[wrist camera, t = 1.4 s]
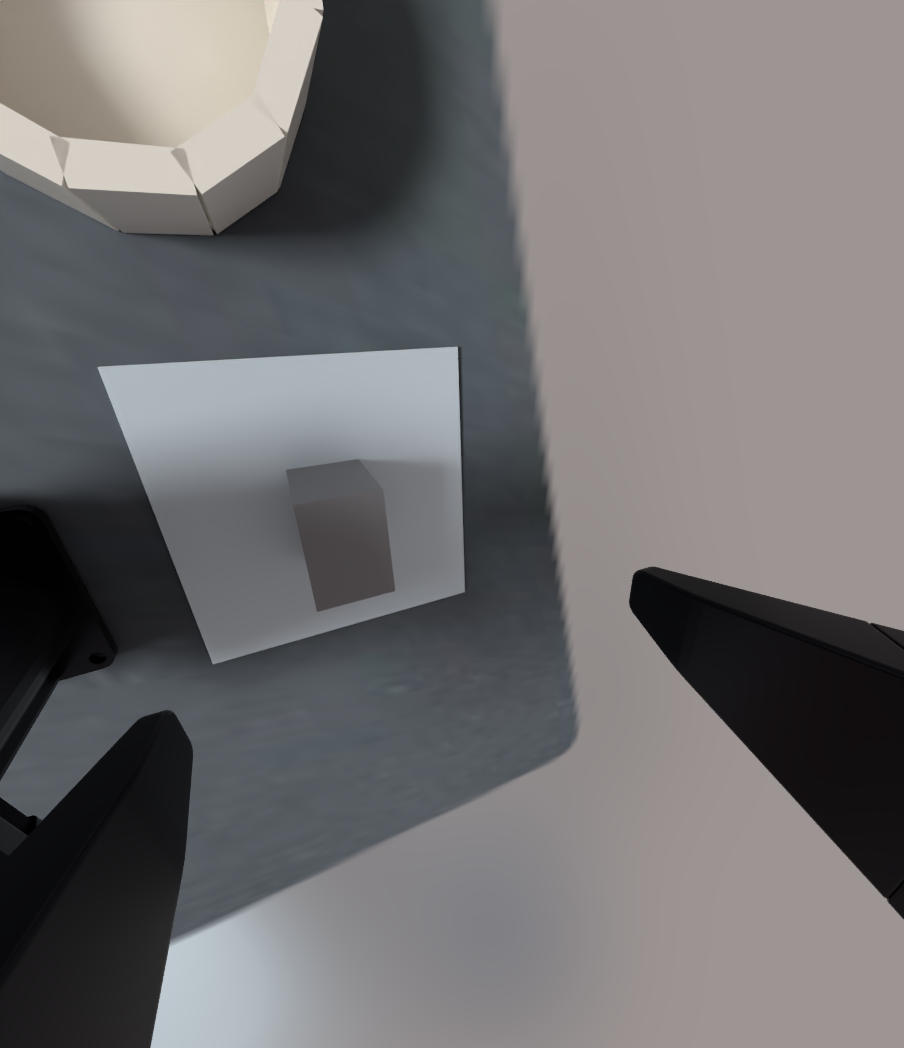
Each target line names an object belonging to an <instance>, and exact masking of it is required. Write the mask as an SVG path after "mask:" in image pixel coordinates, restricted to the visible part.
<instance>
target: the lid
mask: <svg viewBox="0 0 904 1048" xmlns="http://www.w3.org/2000/svg"><path fill="white" fill-rule="evenodd" d="M98 370H99V372H100V375H101V377H102V380H103V382H104V385H105V388H106V390H107V393H108V395H109V398H110V400H111V403H112V406H113V408H114V411H115V413H116V416H117V419H118V421H119V424H120V426H121V429H122V431H123V434H124V437H125V439H126V442H127V444H128V447H129V449H130V452H131V455H132V457H133V460H134V462H135V465H136V467H137V470H138V473H139V475H140V478H141V480H142V483H143V486H144V488H145V491H146V493H147V496H148V498H149V501H150V504H151V506H152V509H153V511H154V514H155V516H156V519H157V522H158V524H159V527H160V529H161V532H162V535H163V537H164V540H165V542H166V545H167V547H168V550H169V553H170V555H171V558H172V560H173V563H174V565H175V568H176V571H177V573H178V576H179V578H180V581H181V584H182V586H183V589H184V591H185V594H186V596H187V599H188V602H189V604H190V607H191V609H192V612H193V614H194V617H195V620H196V622H197V625H198V627H199V630H200V632H201V635H202V638H203V640H204V643H205V645H206V648H207V651H208V653H209V656H210V658H211V661H212V663H213V664H216V663H220V662H223V661H227V660H230V659H234V658H237V657H241V656H244V655H248V654H251V653H255V652H258V651H262V650H265V649H269V648H272V647H275V646H279V645H282V644H286V643H289V642H293V641H296V640H300V639H303V638H307V637H310V636H314V635H317V634H321V633H324V632H328V631H331V630H335V629H338V628H342V627H345V626H349V625H352V624H356V623H359V622H363V621H366V620H370V619H373V618H377V617H380V616H383V615H387V614H390V613H394V612H397V611H401V610H404V609H408V608H411V607H415V606H418V605H422V604H425V603H429V602H432V601H436V600H439V599H443V598H446V597H450V596H453V595H457V594H460V593H464V592H465V577H464V543H463V509H462V475H461V441H460V407H459V373H458V347H441V348H423V349H405V350H388V351H370V352H352V353H334V354H317V355H299V356H281V357H263V358H245V359H228V360H210V361H192V362H174V363H156V364H139V365H121V366H103V367H98Z"/></svg>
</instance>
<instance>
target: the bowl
mask: <svg viewBox="0 0 904 1048" xmlns="http://www.w3.org/2000/svg"><path fill="white" fill-rule="evenodd" d="M322 15H323V3H322V0H0V170H1V171H3V172H4V173H6V174H7V175H9V176H11V177H13V178H15V179H17V180H19V181H21V182H23V183H25V184H27V185H29V186H31V187H33V188H35V189H36V190H38V191H40V192H42V193H44V194H46V195H48V196H50V197H52V198H54V199H56V200H58V201H60V202H62V203H64V204H66V205H68V206H70V207H72V208H74V209H75V210H77V211H79V212H81V213H83V214H85V215H87V216H89V217H91V218H93V219H95V220H97V221H99V222H101V223H103V224H105V225H107V226H109V227H111V228H113V229H114V230H116V231H118V232H119V230H120V231H122V232H123V233H144V234H180V235H213V231H212V229H213V230H214V231H215V232H216V234H218V233H220V232H221V231H223V230H224V229H225V228H227V227H228V226H230V225H231V224H233V223H234V222H235V221H237V220H238V219H240V218H241V217H242V216H244V215H245V214H247V213H248V212H249V211H251V210H252V209H254V208H255V207H257V206H258V205H259V204H261V203H262V202H264V201H265V200H266V199H268V198H269V197H271V196H272V195H273V194H275V193H276V192H278V188H279V189H280V186H281V183H282V179H283V176H284V173H285V170H286V167H287V163H288V160H289V157H290V154H291V151H292V147H293V144H294V141H295V138H296V134H297V131H298V128H299V125H300V122H301V118H302V115H303V112H304V109H305V105H306V100H307V95H308V90H309V85H310V80H311V75H312V70H313V65H314V60H315V55H316V50H317V45H318V40H319V35H320V30H321V25H322V20H323V16H322Z"/></svg>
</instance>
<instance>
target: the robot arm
mask: <svg viewBox="0 0 904 1048" xmlns="http://www.w3.org/2000/svg"><path fill="white" fill-rule="evenodd" d="M17 517H25V518H28V519H30V520H31V521H32V522H33V527H26V526H23V525H21V524H20V523H19V522H18V519H17ZM629 604H630V608H631V610H632V612H633V613H634V615H635V616H636V617H637V619H638V620H639V621H640V623H641V624H642V625H643V626H644V628H645V629H646V630H647V632H648V633H649V634H650V636H651V637H652V638H653V640H654V641H655V642H656V644H657V645H658V646H659V648H660V649H661V650H662V651H663V653H664V654H665V655H666V657H667V658H668V659H669V660H670V662H671V663H672V664H673V666H674V667H675V668H676V669H677V671H679V673H680V674H681V675H682V676H683V677H684V678H685V680H686V681H687V682H688V683H689V684H690V685H691V686H692V687H693V688H694V690H695V691H696V692H697V693H698V694H699V695H700V696H701V697H702V698H703V699H704V700H705V701H706V703H707V704H708V705H709V706H710V707H711V708H712V709H713V710H714V711H715V713H716V714H717V715H718V716H719V717H720V718H721V719H722V720H723V721H724V722H725V723H726V725H727V726H728V727H729V728H730V729H731V730H732V731H733V732H734V733H735V734H736V735H737V737H738V738H739V739H740V740H741V741H742V742H743V743H744V744H745V745H746V747H747V748H748V749H749V750H750V751H751V752H752V753H753V754H754V755H755V756H756V757H757V758H758V760H759V761H760V762H761V763H762V764H763V765H764V766H765V767H766V768H767V770H768V771H769V772H770V773H771V774H772V775H773V776H774V777H775V778H776V779H777V780H778V782H779V783H780V784H781V785H782V786H783V787H784V788H785V789H786V790H787V791H788V793H790V795H791V796H792V797H793V798H794V799H795V800H796V801H797V802H798V803H799V805H800V806H801V807H802V808H803V809H804V810H805V811H806V812H807V813H808V814H809V816H810V817H811V818H812V819H813V820H814V821H815V822H816V823H817V824H818V825H819V827H820V828H821V829H822V830H823V831H824V832H825V833H826V834H827V835H828V836H829V837H830V839H831V840H832V841H833V842H834V843H835V844H836V845H837V846H838V847H839V848H840V849H841V851H842V852H843V853H844V854H845V855H846V856H847V857H848V858H849V859H850V860H851V861H852V863H853V864H854V865H855V866H856V867H857V868H858V869H859V870H860V871H861V873H862V874H863V875H864V876H865V877H866V878H867V879H868V880H869V881H870V882H871V883H872V885H873V886H874V887H875V888H876V889H877V890H878V891H879V892H880V893H881V894H882V896H883V897H885V898H887V901H888V902H889V904H890V905H891V906H892V907H893V908H894V909H895V910H896V911H897V913H898V914H899V915H900V916H901V917H902V918H903V919H904V631H902V630H898V629H894V628H890V627H886V626H882V625H878V624H874V623H870V624H869V623H868V622H866V621H863V620H859V619H855V618H851V617H847V616H843V615H839V614H835V613H832V612H828V611H823V610H820V609H816V608H812V607H808V606H804V605H801V604H797V603H793V602H789V601H785V600H781V599H777V598H773V597H770V596H766V595H761V594H758V593H754V592H750V591H746V590H743V589H739V588H735V587H730V586H727V585H723V584H719V583H716V582H712V581H708V580H704V579H700V578H696V577H692V576H688V575H684V574H680V573H677V572H673V571H669V570H665V569H661V568H657V567H648V568H644V569H641V570H638V571H636V572H635V573H634V575H633V579H632V586H631V592H630V599H629ZM117 652H118V650H117V646H116V644H115V642H114V641H113V639H112V637H111V635H110V633H109V631H108V629H107V627H106V625H105V624H104V622H103V620H102V618H101V616H100V614H99V612H98V610H97V608H96V607H95V605H94V603H93V601H92V599H91V597H90V595H89V593H88V591H87V589H86V588H85V586H84V584H83V582H82V580H81V578H80V576H79V574H78V572H77V571H76V569H75V567H74V565H73V563H72V561H71V559H70V557H69V555H68V553H67V552H66V550H65V548H64V546H63V544H62V542H61V540H60V538H59V536H58V535H57V533H56V531H55V529H54V527H53V525H52V523H51V521H50V519H49V518H48V516H47V515H46V514H45V512H44V511H42V510H41V509H39V508H37V507H34V506H30V505H19V506H13V507H6V508H0V780H1V779H2V777H3V775H4V774H5V772H6V770H7V769H8V767H9V765H10V763H11V762H12V760H13V758H14V757H15V755H16V753H17V751H18V750H19V748H20V746H21V745H22V743H23V741H24V740H25V738H26V736H27V734H28V733H29V731H30V729H31V728H32V726H33V724H34V723H35V721H36V719H37V717H38V716H39V714H40V712H41V711H42V709H43V707H44V706H45V704H46V702H47V700H48V699H49V697H50V695H51V694H52V692H53V690H54V689H55V687H56V685H57V683H58V682H59V681H60V680H63V679H67V678H71V677H74V676H78V675H81V674H85V673H89V672H92V671H96V670H99V669H103V668H105V667H108V666H110V665H111V664H112V663H113V661H114V659H115V657H116V655H117ZM93 653H103V654H104V655H106V656H104V657H97V656H95V655H94V654H93ZM192 762H193V749H192V745H191V742H190V740H189V738H188V736H187V734H186V732H185V731H184V729H183V727H182V725H181V724H180V722H179V720H178V718H177V716H176V715H175V714H174V712H172V711H170V710H165V711H161V712H158V713H154V714H151V715H148V716H144V717H142V718H140V719H139V720H138V721H136V722H135V723H134V724H133V725H132V726H131V728H130V729H129V730H128V731H127V732H126V733H125V734H124V735H123V736H122V737H121V738H120V739H119V740H118V741H117V742H116V743H115V744H114V745H113V747H112V748H111V749H110V750H109V751H108V752H107V753H106V754H105V755H104V756H103V757H102V758H101V759H100V760H99V761H98V762H97V763H96V764H95V766H94V767H93V768H92V769H91V770H90V771H89V772H88V773H87V774H86V775H85V776H84V777H83V778H82V779H81V780H80V781H79V782H78V783H77V785H76V786H75V787H74V788H73V789H72V790H71V791H70V792H69V793H68V794H67V795H66V796H65V797H64V798H63V799H62V800H61V801H60V802H59V804H58V805H57V806H56V807H55V808H54V809H53V810H52V811H51V812H50V813H49V814H48V815H47V816H46V817H45V818H44V819H43V820H41V819H39V818H38V817H37V816H33V815H32V816H29V817H27V816H25V815H24V814H22V813H21V812H20V811H18V810H17V809H16V808H14V807H13V806H11V805H10V804H9V803H7V802H6V801H4V800H3V799H2V798H0V1048H150V1046H151V1041H152V1036H153V1030H154V1024H155V1019H156V1014H157V1009H158V1003H159V998H160V992H161V986H162V982H163V976H164V971H165V965H166V960H167V954H168V949H169V944H170V938H171V933H172V927H173V922H174V917H175V911H176V906H177V900H178V895H179V890H180V884H181V879H182V873H183V866H184V860H185V851H186V841H187V828H188V815H189V801H190V788H191V775H192Z"/></svg>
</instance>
